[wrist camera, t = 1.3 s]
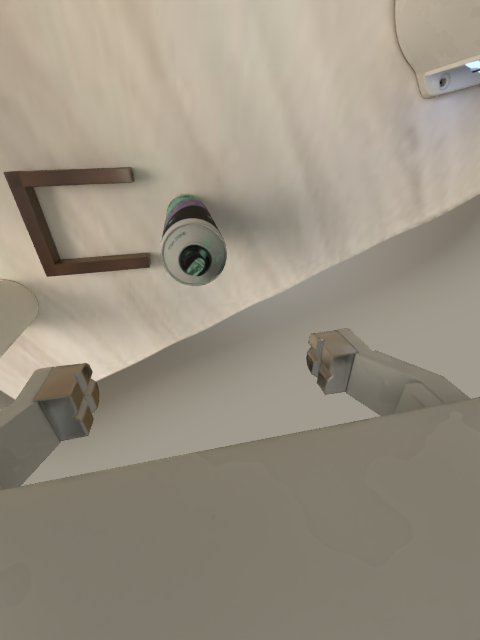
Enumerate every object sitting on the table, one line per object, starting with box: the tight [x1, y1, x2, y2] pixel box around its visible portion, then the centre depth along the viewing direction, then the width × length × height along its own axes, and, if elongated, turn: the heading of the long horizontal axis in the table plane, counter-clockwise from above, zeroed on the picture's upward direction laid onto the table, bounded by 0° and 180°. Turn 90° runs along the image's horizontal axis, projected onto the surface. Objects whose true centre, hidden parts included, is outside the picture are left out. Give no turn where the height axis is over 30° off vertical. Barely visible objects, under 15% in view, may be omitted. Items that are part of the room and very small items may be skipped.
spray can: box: [160, 194, 227, 286], centre depth 29 cm, size 6×6×20 cm
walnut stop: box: [4, 167, 151, 277], centre depth 34 cm, size 13×12×2 cm
